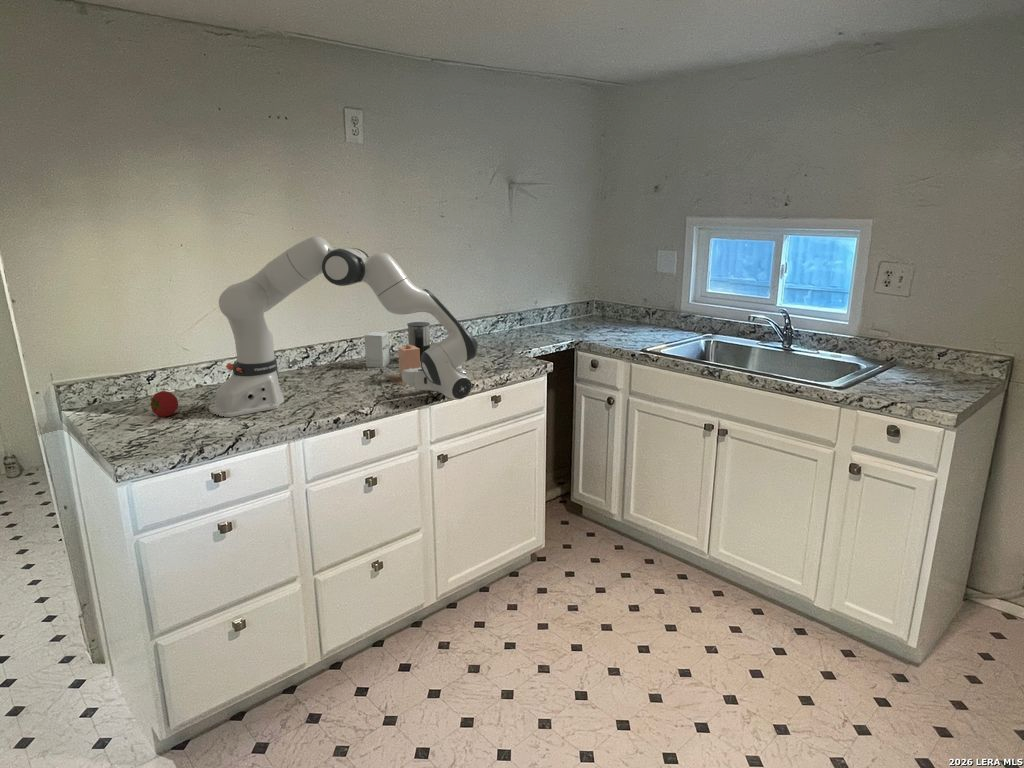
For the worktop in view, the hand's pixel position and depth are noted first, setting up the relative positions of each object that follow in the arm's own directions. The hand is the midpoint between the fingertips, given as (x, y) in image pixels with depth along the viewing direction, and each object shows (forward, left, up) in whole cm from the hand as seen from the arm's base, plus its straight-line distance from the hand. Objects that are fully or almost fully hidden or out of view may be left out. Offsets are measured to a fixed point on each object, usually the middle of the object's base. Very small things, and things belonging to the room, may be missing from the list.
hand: (423, 368), depth 223 cm
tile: (+3, +12, -7) cm, 14 cm away
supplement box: (+9, +39, -8) cm, 41 cm away
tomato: (-72, +36, -8) cm, 80 cm away
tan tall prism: (+3, +12, -6) cm, 14 cm away
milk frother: (+29, +30, -8) cm, 43 cm away
